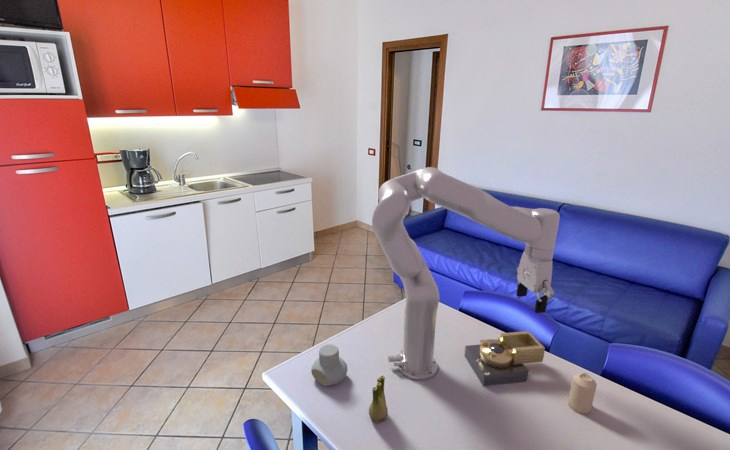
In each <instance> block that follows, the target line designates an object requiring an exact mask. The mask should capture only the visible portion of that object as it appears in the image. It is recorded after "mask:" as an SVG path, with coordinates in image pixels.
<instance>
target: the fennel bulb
mask: <svg viewBox="0 0 730 450" xmlns="http://www.w3.org/2000/svg"><path fill="white" fill-rule="evenodd" d="M376 380H377V381H376V386H372V401H371V403H370V405H369V407H368V414H369V415H368V416H369V418H370V419H371V421H372V423H380V422H384V421H385V420H386V419H387V417H388V406H387V401H386V395H385V376H384V375H380V376H379V377H378V378H376Z"/></svg>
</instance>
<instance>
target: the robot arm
mask: <svg viewBox="0 0 730 450" xmlns="http://www.w3.org/2000/svg"><path fill="white" fill-rule="evenodd" d="M377 198H378V201H379V202H378V203H377V205H376V207H375V209H374V211H373V213H372V218H371V227H372V231H373V233H374V236H375V238H376V240H377V241H378V244H379V246H380V248H381V250H382V252H383V253H384V256H385V257H386V259H387V261H388V263H389V266H390V268H391V269H392V272H394V273H395V274H396V276H399V278H400V280H401V282H402V284H403V289H404V292H405V293H404V294H405V308H404V318H403V321H404V322H403V343H402V344H403V347H402V350H400V353H398V354H397V355H388V356H387V360H388V361H387V362H388V363H393V367H397V368H398V370H399V371H400V373H401V374H402V375H404V376H405V377H407V378H409V379H412V380H416V381H425V380H428V379H431V378H433V377H434V376H435V375H436V374H437V372H438V369H439V368H438V366H439V365H438V362H437V360H436V359H435V358H434V353H435V351H434V350H435V338H436V324H437V323H436V322H437V312H438V308H439V302H440V291H439V287H438V285H437V283H436V281H435V279H434V278H435V277H434V276H433V274H432V273H431V272H432V271H431V270H430V269H429V266H428V265H427V263H426V260H425V258H424V257H423V255H422V253H421V251H420V249H419V247H418V245H417V243H416V242H415V241H414V240H413V239H412V238H411V237H410V235H409V233H408V231H407V229H406V227H405V225H404V219H405V218H406V215H407V214H408V212H409V210H410V208H411V205H412V202H414V201H417V200H420V199H423V198H424V199H425V200H426V201H428V202H430V203H431V204H434V205H437V206H439V207H442V208H444V209H446V210H449V211H451V212H454V213H456V214H458V215H460V216H463V217H465V218H468V219H469V220H471V221H472V222H475V223H477V224H479V225H481V226H483V227H486V228H488V229H490V230H492V231H494V232H496V233H499V234H500V235H503V236H505V237H507V238H509V239H513V240H515V241H518V242H520V243H525V246H524V250H523V253H522V255H521V258H520V260H519V265H518V266H517V267H516V273H517V274H516V278H517V281H516V284H517V287H516V288H517V289H516V293H515V295H516V297H526V296H527V295H528V290H529V291H530V292H531V293H533V294H534V293H536V298H537V299H536V301H535V306H534V313H535V314H541V313H542V314H544V313H546V311H547V306H548V302H550V300H552V298H553V296H554V295H555V290H554V289H553V288H552V287H553V286H551V284H552V277H553V258H554V252H555V248H556V241H557V235H558V231H559V226H560V217H561V216H560V213H559V212H558V211H557V210H554V209H551V208H546V207H545V208H544V207H538V208H528V207H527V208H526V207H521V206H511V205H509V204H506V203H505V202H502V201H501V200H499V199H497V198H495V196H492V195H491V194H489V193H488V192H486V191H485V190H482V189H481V188H479V187H477V186H473V185H472V184H469V183H466V182H465V181H462V180H460V179H457V178H455V177H453V176H450V175H449V174H446V173H445V172H442V171H441V170H440V169H438V168H437V167H433V166H428V167H423V168H419V169H417V170H414V171H412V172H409V173H405V174H403V175H399V176H396V177H394V178H391V179H389V180H387V181H385V182H384V183H382V184H381V185H380V187H379V189H378V193H377ZM542 294H543V295H542Z"/></svg>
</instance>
